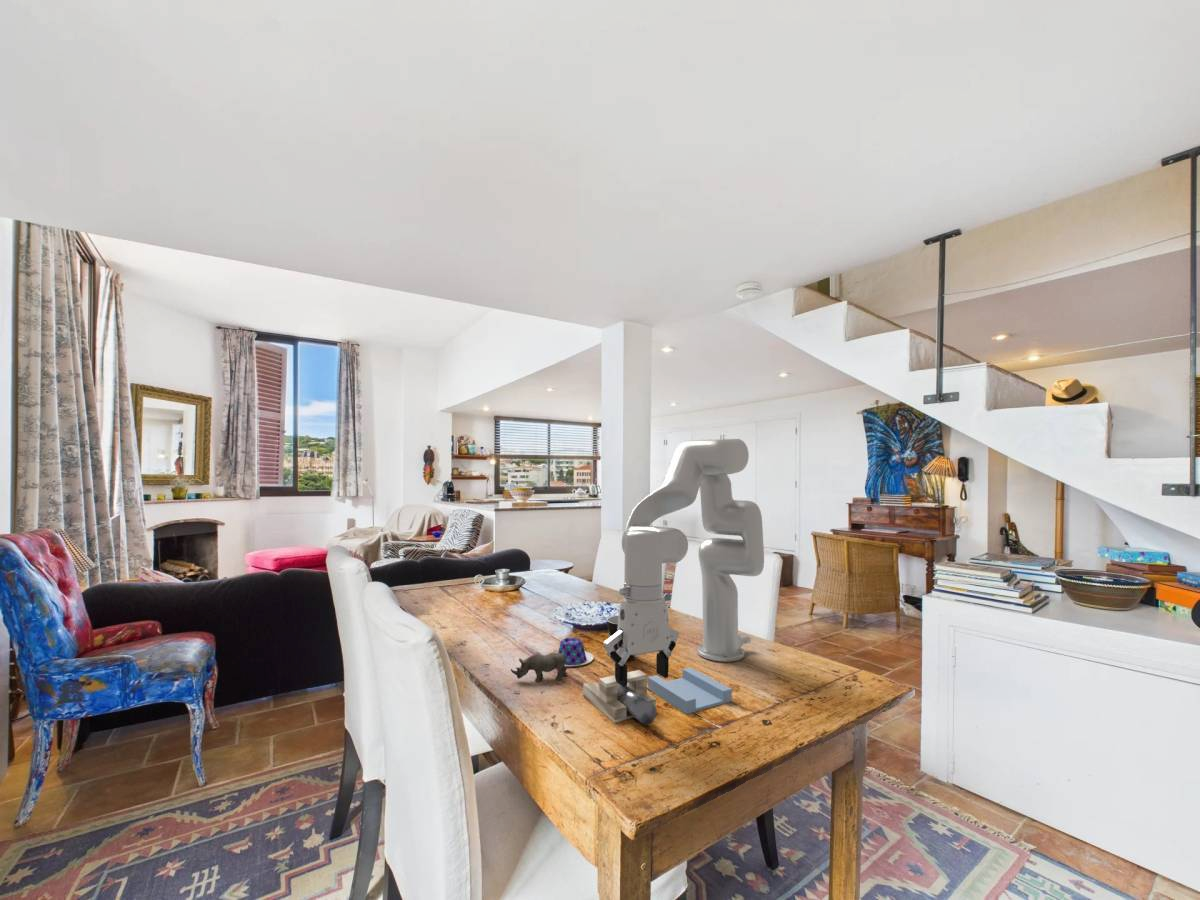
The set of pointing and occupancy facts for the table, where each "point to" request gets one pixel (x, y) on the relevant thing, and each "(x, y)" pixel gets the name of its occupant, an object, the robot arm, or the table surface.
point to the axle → (636, 705)
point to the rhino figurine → (542, 665)
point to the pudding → (574, 652)
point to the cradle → (691, 691)
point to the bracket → (616, 694)
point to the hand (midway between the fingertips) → (642, 679)
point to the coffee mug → (612, 629)
